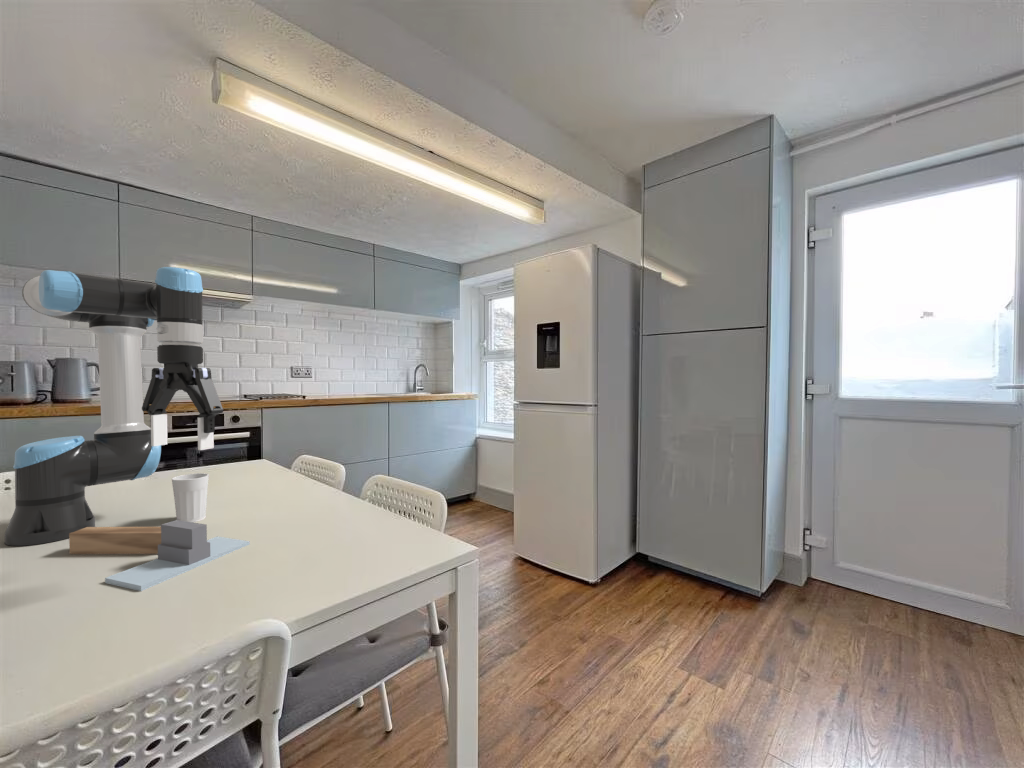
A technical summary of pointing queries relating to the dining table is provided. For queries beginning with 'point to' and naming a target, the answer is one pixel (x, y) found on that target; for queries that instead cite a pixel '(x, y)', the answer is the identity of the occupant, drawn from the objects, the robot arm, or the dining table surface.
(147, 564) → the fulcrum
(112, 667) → the dining table surface
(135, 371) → the robot arm
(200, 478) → the cup
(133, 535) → the bar
